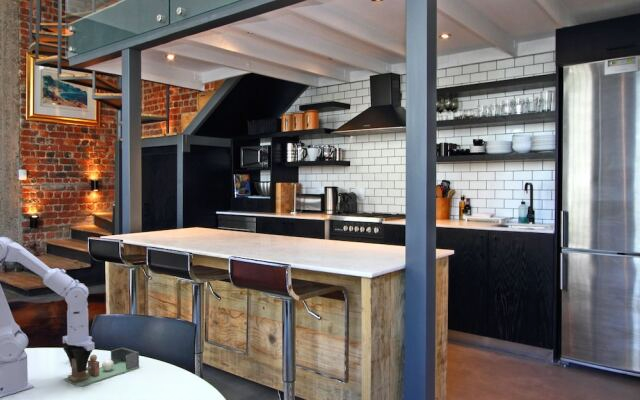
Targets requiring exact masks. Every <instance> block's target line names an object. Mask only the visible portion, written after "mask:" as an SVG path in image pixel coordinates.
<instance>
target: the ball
mask: <svg viewBox="0 0 640 400" xmlns="http://www.w3.org/2000/svg"><path fill="white" fill-rule="evenodd" d="M101 367H102V368H103V370H105V371H110V370H111V369H112V368H113V367H114V363H113V361H112V360H111V358H110V359H109V358H108V359H105V360H104V361H103V362H102V364H101Z"/></svg>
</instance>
